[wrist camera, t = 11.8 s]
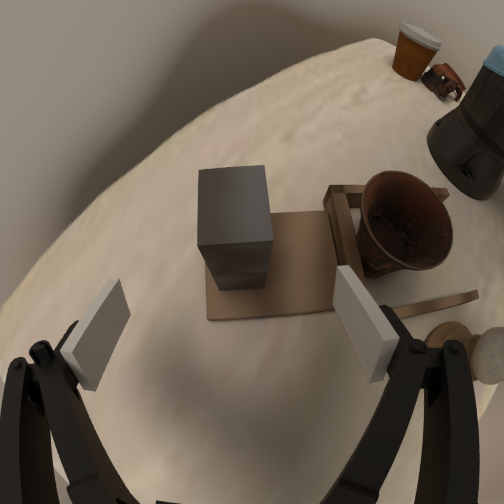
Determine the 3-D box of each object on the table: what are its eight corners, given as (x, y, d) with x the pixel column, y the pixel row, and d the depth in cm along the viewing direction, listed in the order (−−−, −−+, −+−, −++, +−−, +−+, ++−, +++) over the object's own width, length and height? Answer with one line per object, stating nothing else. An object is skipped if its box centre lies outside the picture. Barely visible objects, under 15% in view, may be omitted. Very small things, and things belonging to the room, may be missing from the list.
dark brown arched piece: (416, 72, 44) (439, 55, 37) (439, 102, 46) (462, 86, 40) (424, 84, 37) (452, 64, 31) (451, 120, 39) (478, 102, 33)
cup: (309, 222, 28) (352, 164, 19) (376, 213, 30) (426, 166, 21) (334, 306, 25) (396, 279, 16) (401, 285, 27) (465, 256, 18)
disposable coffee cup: (380, 68, 42) (396, 23, 30) (390, 57, 44) (404, 17, 33) (421, 91, 40) (442, 48, 28) (426, 77, 42) (444, 39, 31)
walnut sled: (435, 200, 30) (486, 144, 19) (463, 303, 25) (536, 273, 14) (206, 206, 29) (184, 123, 18) (210, 341, 24) (175, 332, 13)
